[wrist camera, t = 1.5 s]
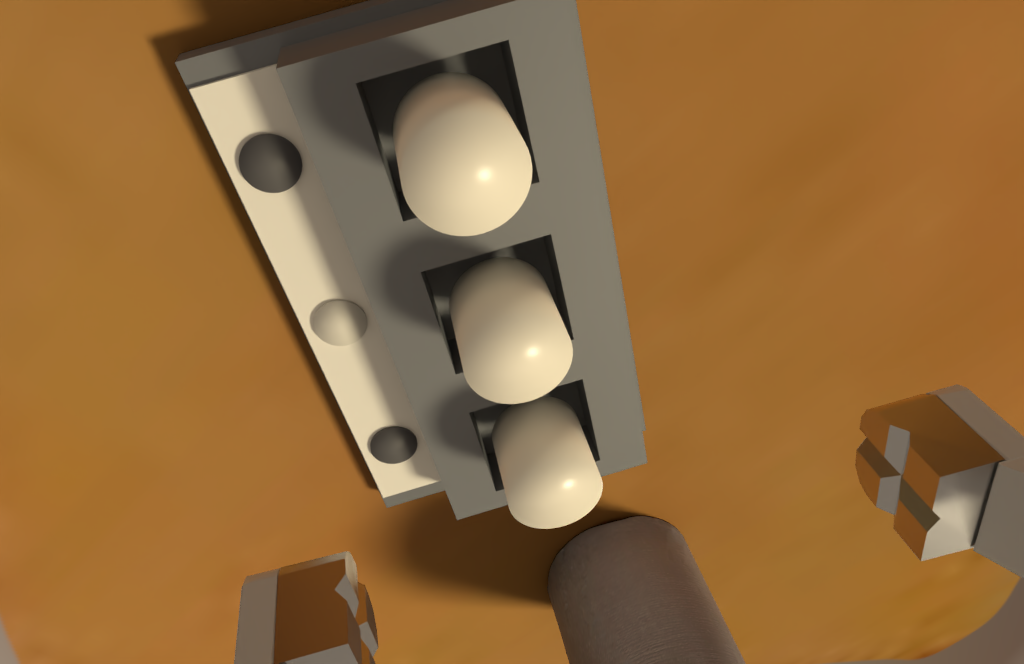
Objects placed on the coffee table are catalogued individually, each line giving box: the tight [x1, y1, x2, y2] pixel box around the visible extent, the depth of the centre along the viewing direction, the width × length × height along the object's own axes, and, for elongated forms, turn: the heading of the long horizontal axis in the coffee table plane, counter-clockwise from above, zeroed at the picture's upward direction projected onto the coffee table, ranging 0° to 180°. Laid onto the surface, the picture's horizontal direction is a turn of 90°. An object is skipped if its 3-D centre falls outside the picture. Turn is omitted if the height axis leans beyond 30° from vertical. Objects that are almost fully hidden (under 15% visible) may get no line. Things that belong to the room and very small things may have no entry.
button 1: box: [393, 72, 532, 236], centre depth 28 cm, size 4×4×4 cm
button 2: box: [449, 257, 573, 404], centre depth 32 cm, size 4×4×4 cm
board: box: [175, 0, 647, 520], centre depth 35 cm, size 15×25×4 cm, turn 13°
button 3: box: [492, 396, 603, 529], centre depth 37 cm, size 4×4×4 cm
